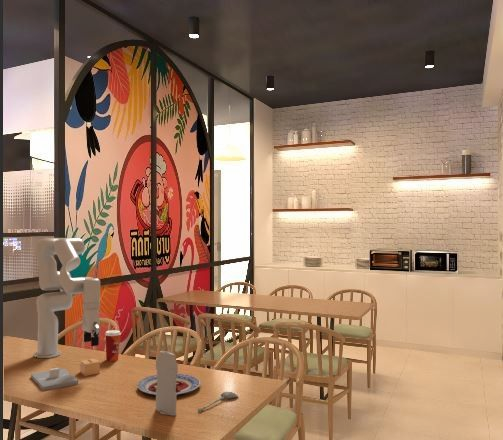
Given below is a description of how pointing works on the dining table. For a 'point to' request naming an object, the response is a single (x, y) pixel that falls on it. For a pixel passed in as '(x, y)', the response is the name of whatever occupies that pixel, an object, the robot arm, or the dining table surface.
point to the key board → (54, 379)
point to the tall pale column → (166, 383)
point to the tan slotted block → (89, 367)
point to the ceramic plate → (182, 384)
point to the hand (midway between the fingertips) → (91, 343)
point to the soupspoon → (223, 395)
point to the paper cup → (112, 345)
